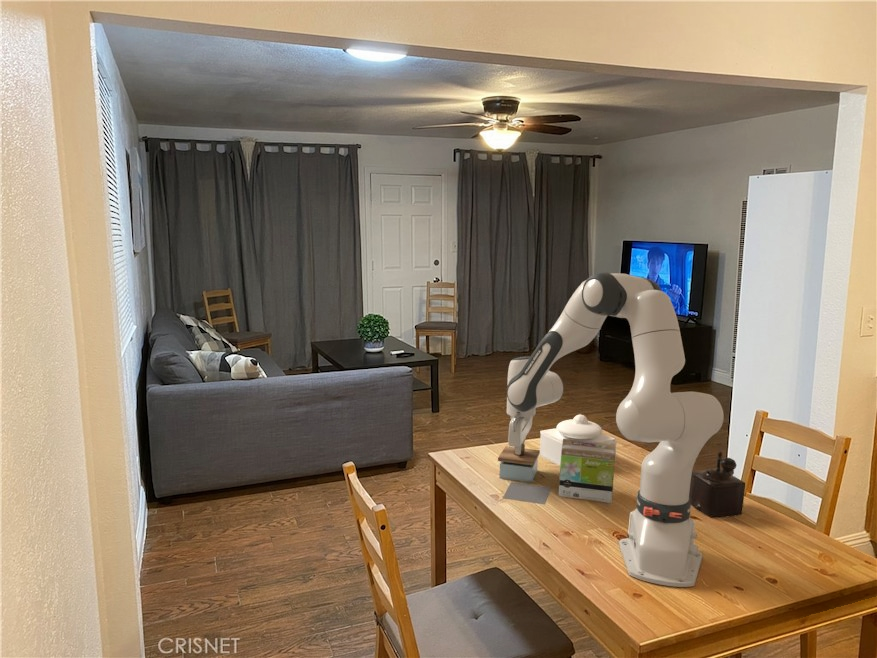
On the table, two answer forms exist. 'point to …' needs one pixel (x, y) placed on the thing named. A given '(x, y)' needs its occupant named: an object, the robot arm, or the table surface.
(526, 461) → the lid
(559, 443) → the white lidded container
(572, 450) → the tea box
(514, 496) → the mat
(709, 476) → the coffee grinder
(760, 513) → the table surface
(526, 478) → the dish
